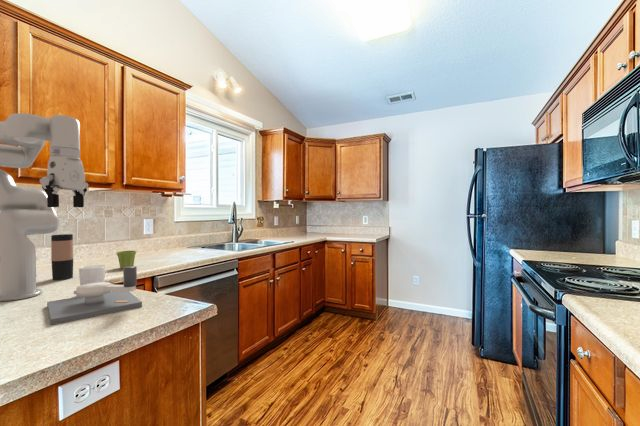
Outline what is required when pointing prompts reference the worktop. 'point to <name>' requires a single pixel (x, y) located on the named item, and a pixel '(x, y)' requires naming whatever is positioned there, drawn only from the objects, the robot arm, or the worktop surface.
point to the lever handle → (109, 285)
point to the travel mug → (62, 256)
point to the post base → (91, 306)
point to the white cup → (92, 274)
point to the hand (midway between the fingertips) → (66, 207)
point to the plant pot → (126, 258)
